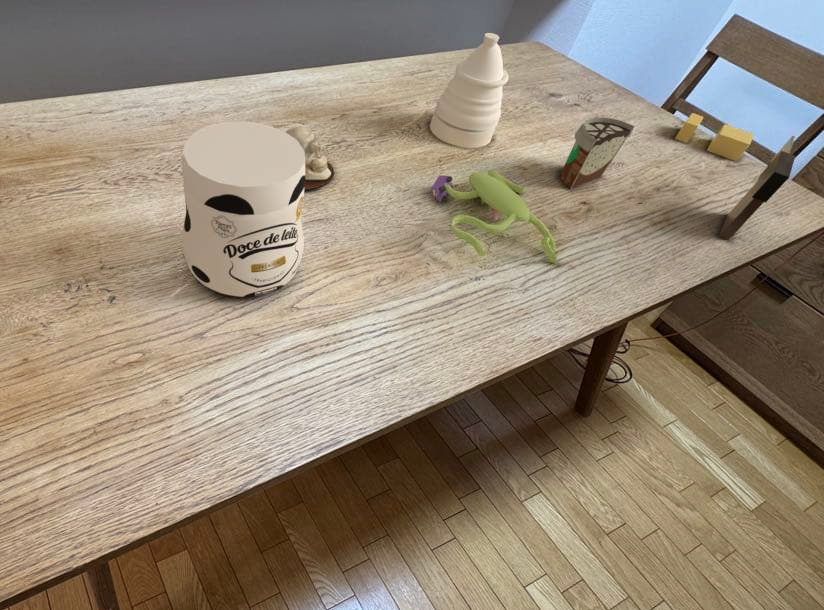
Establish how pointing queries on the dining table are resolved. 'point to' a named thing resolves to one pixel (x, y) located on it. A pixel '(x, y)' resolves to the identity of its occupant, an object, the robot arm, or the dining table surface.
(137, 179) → the dining table surface
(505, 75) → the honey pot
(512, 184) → the figurine
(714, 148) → the butter block
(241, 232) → the milk container
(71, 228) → the dining table surface
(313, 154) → the cream carved statuette
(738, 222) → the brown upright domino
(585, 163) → the food container
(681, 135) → the block
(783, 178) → the knife
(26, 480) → the dining table surface
